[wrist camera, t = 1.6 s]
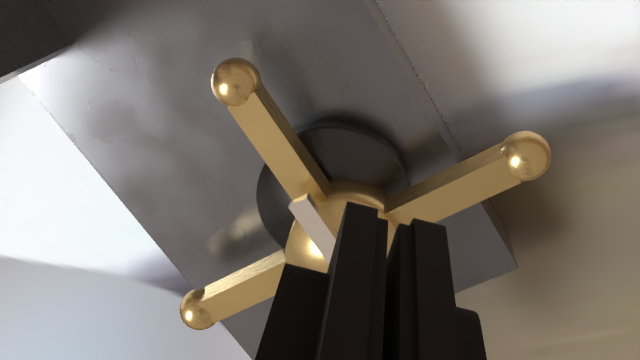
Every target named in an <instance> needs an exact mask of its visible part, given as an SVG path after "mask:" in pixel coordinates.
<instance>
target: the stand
mask: <svg viewBox="0 0 640 360" xmlns="http://www.w3.org/2000/svg"><path fill="white" fill-rule="evenodd" d="M235 57H236V58H243V59H245V60H248V61H249V62H251V63H252V64H253V65H254V66H255V67H256V68H257V70H258V71H259V73H260V76H261V81H262V83H263V85H264V86H265V88H266V89H267V91H268V92H269V94H270V95H271V97H272V98H273V100H274V101H275V103H276V104H277V106H278V107H279V109H280V110H281V112H282V113H283V115H284V116H285V117H286V119H287V120H288V122H289V123H290V125H291V126H292V128H293V129H294V131H295V130H297V129H299V128H301V127H303V126H306V125H309V124H312V123H318V122H325V121H340V122H347V123H353V124H356V125H359V126H362V127H365V128H367V129H369V130H371V131H373V132H375V133H376V134H378V135H380V136H381V137H382V138H384V139H385V140H386V141H387V142H388V143H390V144H391V146H392V147H393V148H394V149H395V150H396V151H397V152H398V154H399V155H400V157H401V158H402V160H403V162H404V164H405V166H406V168H407V171H408V174H409V177H410V182H411V186H413V185H415V184H417V183H419V182H421V181H423V180H425V179H428V178H430V177H432V176H434V175H436V174H438V173H440V172H442V171H444V170H446V169H448V168H450V167H452V166H454V165H456V164H458V163H460V162H462V161H464V160H466V159H465V157H464V155H463V154H462V152H461V150H460V148H459V147H458V145H457V143H456V141H455V140H454V138H453V136H452V134H451V133H450V131H449V129H448V128H447V126H446V124H445V122H444V121H443V119H442V117H441V115H440V114H439V112H438V110H437V108H436V107H435V105H434V103H433V101H432V100H431V98H430V96H429V94H428V93H427V91H426V89H425V87H424V86H423V84H422V82H421V80H420V79H419V77H418V75H417V74H416V72H415V70H414V68H413V67H412V65H411V63H410V61H409V60H408V58H407V56H406V54H405V53H404V51H403V49H402V47H401V46H400V44H399V42H398V40H397V39H396V37H395V35H394V33H393V32H392V30H391V28H390V26H389V25H388V23H387V21H386V20H385V18H384V16H383V14H382V13H381V11H380V9H379V7H378V6H377V4H376V2H375V0H0V84H1V83H3V82H6V81H8V80H10V79H12V78H14V77H16V76H19V78H20V79H21V80H22V81H23V82H24V84H25V85H26V86H27V87H28V89H29V90H30V91H31V92H32V93H33V95H34V96H35V97H36V98H37V99H38V101H39V102H40V103H41V104H42V106H43V107H44V108H45V109H46V110H47V112H48V113H49V114H50V115H51V116H52V118H53V119H54V120H55V121H56V122H57V124H58V125H59V126H60V127H61V129H62V130H63V131H64V132H65V133H66V135H67V136H68V137H69V138H70V139H71V141H72V142H73V143H74V144H75V145H76V147H77V148H78V149H79V150H80V152H81V153H82V154H83V155H84V156H85V158H86V159H87V160H88V161H89V162H90V164H91V165H92V166H93V167H94V169H95V170H96V171H97V172H98V173H99V175H100V176H101V177H102V178H103V179H104V181H105V182H106V183H107V184H108V185H109V187H110V188H111V189H112V190H113V192H114V193H115V194H116V195H117V196H118V198H119V199H120V200H121V201H122V202H123V204H124V205H125V206H126V207H127V208H128V210H129V211H130V212H131V213H132V215H133V216H134V217H135V218H136V219H137V221H138V222H139V223H140V224H141V225H142V227H143V228H144V229H145V230H146V232H147V233H148V234H149V235H150V236H151V238H152V239H153V240H154V241H155V242H156V244H157V245H158V246H159V247H160V248H161V250H162V251H163V252H164V253H165V255H166V256H167V257H168V258H169V259H170V261H171V262H172V263H173V264H174V265H175V267H176V268H177V269H178V270H179V271H180V273H181V274H182V275H183V276H184V278H185V279H186V280H187V281H188V282H189V284H190V285H191V286H192V287H193V288H194V289H198V288H205V287H206V286H208V285H210V284H212V283H214V282H216V281H218V280H220V279H222V278H224V277H226V276H228V275H230V274H232V273H234V272H236V271H238V270H241V269H243V268H245V267H247V266H249V265H251V264H253V263H255V262H257V261H259V260H261V259H263V258H265V257H267V256H269V255H271V254H273V253H275V252H278V251H280V250H282V249H283V248H282V247H281V246H280V245H279V244H278V243H276V242H275V240H274V239H273V238H272V237H271V236H270V234H269V233H268V231H267V230H266V228H265V227H264V224H263V222H262V220H261V218H260V215H259V212H258V207H257V202H256V190H257V183H258V179H259V175H260V173H261V171H262V168H263V166H264V164H265V161H264V160H263V158H262V157H261V155H260V154H259V153H258V151H257V150H256V148H255V147H254V146H253V144H252V143H251V141H250V140H249V138H248V137H247V136H246V134H245V133H244V131H243V130H242V129H241V127H240V126H239V124H238V123H237V122H236V120H235V119H234V117H233V116H232V114H231V113H230V112H229V110H228V109H227V106H225V105H223V104H222V103H221V102H219V101H218V100H217V98H216V97H215V95H214V94H213V91H212V87H211V77H212V74H213V71H214V69H215V68H216V67H217V65H218V64H219V63H221V62H222V61H224V60H226V59H229V58H235ZM435 223H436V224H439V225H443V226H445V227H446V231H447V239H448V247H449V255H450V263H451V271H452V279H453V287H454V294H455V293H457V292H460V291H462V290H465V289H467V288H470V287H472V286H475V285H477V284H480V283H482V282H484V281H487V280H489V279H492V278H494V277H497V276H499V275H502V274H504V273H507V272H509V271H511V270H514V269H516V268H518V265H517V262H516V258H515V255H514V252H513V248H512V245H511V242H510V238H509V235H508V232H507V230H506V229H505V227H504V225H503V223H502V222H501V220H500V218H499V216H498V215H497V213H496V211H495V209H494V208H493V206H492V204H491V202H490V201H489V199H488V198H487V199H485V200H483V201H481V202H479V203H476V204H474V205H472V206H470V207H468V208H465V209H463V210H461V211H459V212H457V213H454V214H452V215H450V216H448V217H446V218H443V219H441V220H439V221H437V222H435ZM274 297H275V296H273V297H271V298H268V299H266V300H264V301H262V302H260V303H257V304H255V305H253V306H251V307H249V308H246V309H244V310H242V311H240V312H238V313H236V314H233V315H231V316H229V317H227V318H225V319H222V320H220V321H221V322H222V324H223V325H224V326H225V327H226V328H227V330H228V331H229V332H230V333H231V334H232V336H233V337H234V338H235V339H236V341H237V342H238V343H239V344H240V345H241V347H242V348H243V349H244V350H245V351H246V353H247V354H248V355H249V356H250V357H251V359H252V360H255V357H256V354H257V351H258V348H259V344H260V341H261V338H262V335H263V332H264V329H265V325H266V322H267V319H268V316H269V313H270V309H271V306H272V303H273V300H274Z"/></svg>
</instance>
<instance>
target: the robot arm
mask: <svg viewBox="0 0 640 360" xmlns="http://www.w3.org/2000/svg"><path fill="white" fill-rule="evenodd" d="M387 241H388V220H386V219H382V218H378V209H377V208H373V207H369V206H365V205H361V204H357V203H353V202H349V201H347V203H346V206H345V209H344V213H343V216H342V220H341V224H340V227H339V231H338V235H337V238H336V242H335V245H334V249H333V253H332V256H331V260H330V264H329V267H328V271H327V273H323V272H319V271H315V270H311V269H308V268H304V267H300V266H296V265H292V264H288V263H285V265H284V268H283V271H282V274H281V278H280V281H279V284H278V287H277V290H276V294H275V297H274V300H273V303H272V306H271V309H270V313H269V316H268V319H267V322H266V325H265V329H264V332H263V335H262V338H261V341H260V344H259V348H258V351H257V354H256V357H255V360H487V358H486V352H485V347H484V341H483V335H482V330H481V324H480V319H479V316H478V314H477V313H476V312H475V311H471V310H467V309H463V308H459V307H456V303H455V295H454V287H453V279H452V271H451V263H450V255H449V247H448V239H447V231H446V227H445V226H443V225H439V224H436V223H432V222H428V221H424V220H420V219H416V218H413V219H412V221H411V223H410V225H406V224H402V223H399V224H398V226H397V229H396V232H395V235H394V238H393V241H392V244H391V247H390V250H389V253H388V256H387Z"/></svg>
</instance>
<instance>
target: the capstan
mask: <svg viewBox="0 0 640 360" xmlns="http://www.w3.org/2000/svg"><path fill="white" fill-rule="evenodd" d="M211 87H212V91H213V94H214V95H215V97H216V98H217V100H218V101H219V102H221V103H222V104H223V105H225V106H227V109H228V110H229V112H230V113H231V114H232V116H233V117H234V119H235V120H236V122H237V123H238V124H239V126H240V127H241V129H242V130H243V131H244V133H245V134H246V136H247V137H248V138H249V140H250V141H251V143H252V144H253V146H254V147H255V148H256V150H257V151H258V153H259V154H260V155H261V157H262V158H263V160H264V161H265V164H264V166H263V168H262V171H261V173H260V175H259V179H258V183H257V190H256V202H257V207H258V212H259V215H260V218H261V220H262V222H263V224H264V227H265V228H266V230H267V231H268V233H269V234H270V236H271V237H272V238H273V239H274V240H275V242H276V243H278V244H279V245H280V246H281V247H282V248H283V249H282V250H280V251H278V252H275V253H273V254H271V255H269V256H267V257H265V258H263V259H261V260H259V261H257V262H255V263H253V264H251V265H249V266H247V267H245V268H243V269H241V270H238V271H236V272H234V273H232V274H230V275H228V276H226V277H224V278H222V279H220V280H218V281H216V282H214V283H212V284H210V285H208V286H206V287H205V288H198V289H194V290H192V291H190V292H189V293H187V294H186V295H185V296H184V298H183V300H182V302H181V305H180V315H181V318H182V320H183V322H184V323H185V324H186V325H187V326H188V327H190V328H192V329H196V330H204V329H207V328H209V327H211V326H213V325H214V324H215V323H216V322H218V321H220V320H222V319H225V318H227V317H229V316H231V315H233V314H236V313H238V312H240V311H242V310H244V309H246V308H249V307H251V306H253V305H255V304H257V303H260V302H262V301H264V300H266V299H268V298H271V297H273V296H275V294H276V290H277V287H278V284H279V281H280V278H281V274H282V271H283V268H284V265H285V263H288V264H292V265H296V266H300V267H304V268H308V269H311V270H315V271H319V272H323V273H327V271H328V267H329V264H330V260H331V256H332V253H333V249H334V245H335V242H336V238H337V235H338V231H339V227H340V224H341V220H342V216H343V213H344V209H345V206H346V203H347V201H349V202H353V203H357V204H361V205H365V206H369V207H373V208H377V209H378V218H382V219H386V220H388V241H387V256H388V253H389V250H390V247H391V244H392V241H393V238H394V235H395V232H396V229H397V226H398V224H399V223H402V224H406V225H410V223H411V221H412V219H413V218H416V219H420V220H424V221H428V222H432V223H435V222H437V221H439V220H441V219H443V218H446V217H448V216H450V215H452V214H454V213H457V212H459V211H461V210H463V209H465V208H468V207H470V206H472V205H474V204H476V203H479V202H481V201H483V200H485V199H487V198H489V197H492V196H494V195H496V194H498V193H500V192H503V191H505V190H507V189H509V188H511V187H514V186H516V185H518V184H520V183H521V181H531V180H535V179H537V178H539V177H540V176H542V175H543V174H544V173H545V172H546V171H547V169H548V168H549V166H550V163H551V159H552V153H551V148H550V146H549V144H548V142H547V141H546V140H545V139H544V138H543V137H542V136H541V135H539V134H537V133H535V132H531V131H519V132H515V133H513V134H511V135H510V136H508V137H507V138H506V139H505V140H504V141H503V143H502V142H501V143H499V144H497V145H495V146H493V147H491V148H489V149H487V150H485V151H483V152H481V153H479V154H477V155H475V156H473V157H471V158H469V159H467V160H464V161H462V162H460V163H458V164H456V165H454V166H452V167H450V168H448V169H446V170H444V171H442V172H440V173H438V174H436V175H434V176H432V177H430V178H428V179H425V180H423V181H421V182H419V183H417V184H415V185H413V186H411V182H410V177H409V174H408V171H407V168H406V166H405V164H404V162H403V160H402V158H401V157H400V155H399V154H398V152H397V151H396V150H395V149H394V148H393V147H392V146H391V144H390V143H388V142H387V141H386V140H385V139H384V138H382V137H381V136H380V135H378V134H376V133H375V132H373V131H371V130H369V129H367V128H365V127H362V126H359V125H356V124H353V123H347V122H340V121H325V122H318V123H312V124H309V125H306V126H303V127H301V128H299V129H297V130H295V131H294V129H293V128H292V126H291V125H290V123H289V122H288V120H287V119H286V117H285V116H284V115H283V113H282V112H281V110H280V109H279V107H278V106H277V104H276V103H275V101H274V100H273V98H272V97H271V95H270V94H269V92H268V91H267V89H266V88H265V86H264V85H263V83H262V81H261V76H260V73H259V71H258V70H257V68H256V67H255V66H254V65H253V64H252V63H251V62H249V61H248V60H245V59H243V58H236V57H235V58H229V59H226V60H224V61H222V62H221V63H219V64H218V65H217V67H216V68H215V69H214V71H213V74H212V77H211Z"/></svg>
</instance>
